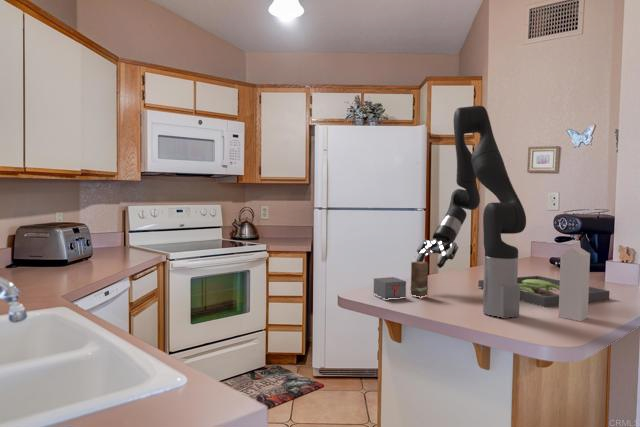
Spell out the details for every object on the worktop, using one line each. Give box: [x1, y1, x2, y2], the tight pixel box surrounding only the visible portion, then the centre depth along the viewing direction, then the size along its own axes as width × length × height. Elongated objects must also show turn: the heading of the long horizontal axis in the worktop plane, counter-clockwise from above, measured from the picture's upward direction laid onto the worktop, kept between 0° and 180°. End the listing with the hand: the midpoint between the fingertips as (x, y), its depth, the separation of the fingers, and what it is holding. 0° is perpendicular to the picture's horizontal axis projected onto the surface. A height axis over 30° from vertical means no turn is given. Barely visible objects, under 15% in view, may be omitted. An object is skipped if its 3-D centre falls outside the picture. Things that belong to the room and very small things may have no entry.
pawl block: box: [373, 276, 407, 299], centre depth 153 cm, size 8×8×6 cm
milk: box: [558, 241, 591, 322], centre depth 130 cm, size 6×6×22 cm
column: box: [410, 261, 429, 297], centre depth 154 cm, size 4×4×12 cm
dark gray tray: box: [477, 275, 610, 307], centre depth 161 cm, size 30×30×3 cm
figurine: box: [519, 279, 560, 294], centre depth 160 cm, size 18×27×6 cm
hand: (428, 264), depth 157 cm, fingers open, 8 cm apart
